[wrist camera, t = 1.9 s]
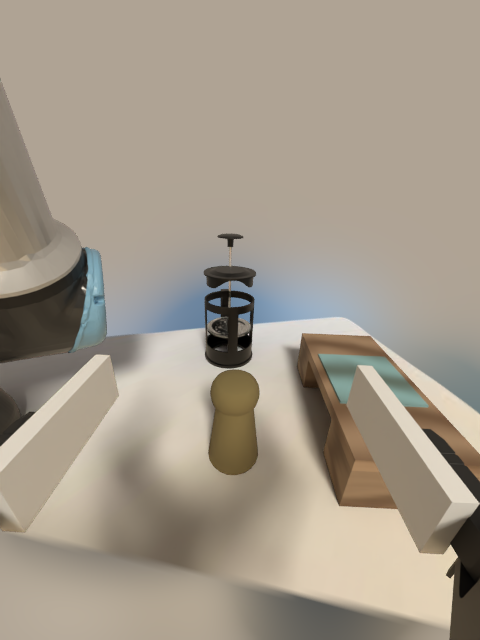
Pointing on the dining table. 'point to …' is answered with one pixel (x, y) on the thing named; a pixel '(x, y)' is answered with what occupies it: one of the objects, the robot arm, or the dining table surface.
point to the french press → (229, 314)
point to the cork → (234, 422)
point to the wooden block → (343, 436)
